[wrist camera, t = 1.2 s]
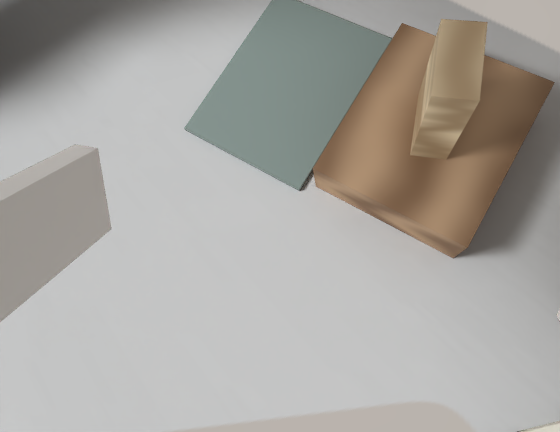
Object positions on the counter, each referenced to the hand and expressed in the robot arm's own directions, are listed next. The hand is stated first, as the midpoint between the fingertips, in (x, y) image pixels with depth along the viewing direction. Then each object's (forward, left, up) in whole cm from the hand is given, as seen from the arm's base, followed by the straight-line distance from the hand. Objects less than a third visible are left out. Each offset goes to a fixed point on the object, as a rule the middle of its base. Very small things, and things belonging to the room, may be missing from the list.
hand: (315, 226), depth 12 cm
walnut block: (0, +14, -23) cm, 27 cm away
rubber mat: (-13, +14, -23) cm, 30 cm away
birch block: (0, +14, -19) cm, 23 cm away
